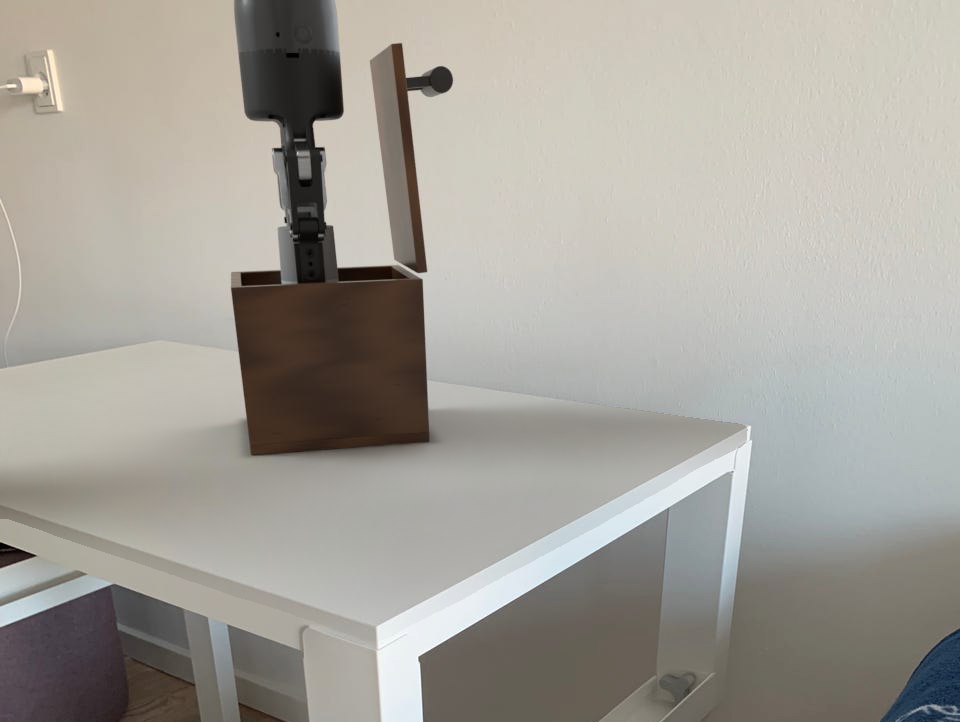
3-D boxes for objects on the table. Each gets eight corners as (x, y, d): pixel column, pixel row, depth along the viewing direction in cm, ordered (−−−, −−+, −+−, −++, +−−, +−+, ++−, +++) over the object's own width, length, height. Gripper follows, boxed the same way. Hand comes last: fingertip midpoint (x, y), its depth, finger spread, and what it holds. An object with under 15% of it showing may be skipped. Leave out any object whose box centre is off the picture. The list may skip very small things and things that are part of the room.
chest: (251, 455, 81) (230, 287, 75) (248, 420, 92) (230, 271, 86) (429, 441, 83) (422, 279, 78) (406, 409, 94) (398, 264, 89)
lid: (391, 43, 71) (460, 37, 71) (369, 60, 82) (429, 54, 83) (417, 273, 78) (480, 265, 78) (394, 259, 89) (449, 253, 89)
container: (330, 405, 90) (315, 224, 83) (359, 413, 86) (346, 225, 80) (284, 413, 87) (264, 227, 80) (312, 422, 84) (294, 229, 77)
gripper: (237, 57, 80) (261, 282, 88) (238, 37, 68) (266, 301, 75) (331, 57, 82) (347, 278, 89) (349, 37, 69) (365, 297, 76)
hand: (310, 288), depth 82 cm, fingers closed on container, 4 cm apart
